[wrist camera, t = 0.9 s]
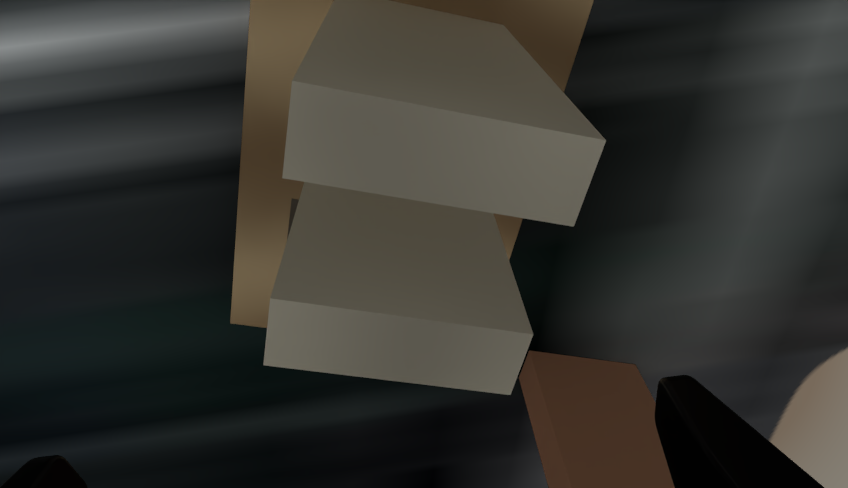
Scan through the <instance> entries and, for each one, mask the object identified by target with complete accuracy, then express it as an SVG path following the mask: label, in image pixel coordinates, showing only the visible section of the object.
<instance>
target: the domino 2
mask: <svg viewBox="0 0 848 488" xmlns="http://www.w3.org/2000/svg"><path fill="white" fill-rule="evenodd" d="M532 337H533V332H532V329H531V326H530V323H529V320H528V317H527V314H526V311H525V308H524V305H523V302H522V299H521V296H520V293H519V290H518V287H517V284H516V281H515V278H514V274H513V271H512V268H511V265H510V262H509V259H508V256H507V253H506V250H505V247H504V244H503V241H502V238H501V235H500V232H499V229H498V226H497V223H496V220H495V217H494V214H493V213H488V212H482V211H476V210H470V209H464V208H458V207H452V206H446V205H440V204H434V203H428V202H422V201H416V200H410V199H404V198H398V197H392V196H386V195H380V194H374V193H368V192H362V191H356V190H350V189H344V188H338V187H332V186H326V185H320V184H314V183H308V182H304V185H303V188H302V192H301V195H300V198H299V202H298V205H297V209H296V212H295V215H294V219H293V222H292V226H291V229H290V232H289V236H288V239H287V243H286V246H285V249H284V253H283V256H282V260H281V263H280V266H279V270H278V273H277V277H276V280H275V283H274V287H273V290H272V294H271V297H270V305H269V314H268V324H267V334H266V344H265V354H264V364H263V365H266V366H274V367H283V368H291V369H299V370H308V371H316V372H324V373H332V374H341V375H349V376H357V377H365V378H374V379H382V380H390V381H399V382H407V383H415V384H423V385H432V386H440V387H448V388H456V389H465V390H473V391H481V392H489V393H498V394H506V395H511V392H512V390H513V387H514V384H515V382H516V379H517V376H518V374H519V371H520V368H521V366H522V363H523V360H524V358H525V355H526V352H527V350H528V347H529V344H530V342H531V339H532Z"/></svg>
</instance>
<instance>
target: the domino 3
mask: <svg viewBox="0 0 848 488" xmlns="http://www.w3.org/2000/svg"><path fill="white" fill-rule="evenodd" d="M519 380H520V384H521V388H522V391H523V395H524V399H525V402H526V406H527V410H528V413H529V417H530V421H531V424H532V428H533V432H534V435H535V439H536V443H537V447H538V450H539V454H540V458H541V461H542V465H543V469H544V472H545V476H546V480H547V483H548V487H549V488H675V487H674V484H673V481H672V478H671V474H670V471H669V468H668V464H667V461H666V458H665V455H664V451H663V448H662V445H661V442H660V438H659V435H658V432H657V428H656V424H655V406H656V403H655V401H654V399H653V397H652V395H651V393H650V391H649V390H648V388H647V386H646V384H645V382H644V380H643V378H642V376H641V374H640V372H639V371H638V369H637V367H636V365H635V364H627V363H620V362H612V361H605V360H597V359H590V358H582V357H575V356H567V355H559V354H552V353H544V352H537V351H529V352H528V355H527V358H526V360H525V363H524V366H523V368H522V371H521V373H520V376H519Z"/></svg>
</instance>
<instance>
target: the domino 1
mask: <svg viewBox="0 0 848 488" xmlns="http://www.w3.org/2000/svg"><path fill="white" fill-rule="evenodd" d="M605 142H606V140H605V139H604V138H603V136H602V135H601V134H600V133H599V132H598V131H597V130H596V129H595V127H594V126H593V125H592V124H591V123H590V122H589V121H588V120H587V118H586V117H585V116H584V115H583V114H582V113H581V112H580V111H579V109H578V108H577V107H576V106H575V105H574V104H573V103H572V102H571V100H570V99H569V98H568V97H567V96H566V95H565V94H564V93H563V91H562V90H561V89H560V88H559V87H558V86H557V85H556V84H555V82H554V81H553V80H552V79H551V78H550V77H549V76H548V75H547V73H546V72H545V71H544V70H543V69H542V68H541V67H540V66H539V64H538V63H537V62H536V61H535V60H534V59H533V58H532V57H531V55H530V54H529V53H528V52H527V51H526V50H525V49H524V48H523V46H522V45H521V44H520V43H519V42H518V41H517V40H516V39H515V37H514V36H513V35H512V34H511V33H510V32H509V31H508V30H507V28H506V27H505V26H504V25H502V24H497V23H492V22H488V21H483V20H478V19H474V18H469V17H464V16H460V15H455V14H450V13H446V12H441V11H436V10H432V9H427V8H422V7H418V6H413V5H409V4H404V3H399V2H395V1H390V0H334V1H333V3H332V5H331V7H330V9H329V11H328V13H327V15H326V17H325V18H324V20H323V22H322V24H321V26H320V28H319V30H318V32H317V34H316V36H315V38H314V40H313V41H312V43H311V45H310V47H309V49H308V51H307V53H306V55H305V57H304V59H303V61H302V63H301V64H300V66H299V68H298V70H297V72H296V74H295V76H294V78H293V80H292V86H291V96H290V106H289V116H288V126H287V136H286V146H285V156H284V165H283V175H282V178H284V179H290V180H296V181H302V182H308V183H314V184H320V185H326V186H332V187H338V188H344V189H350V190H356V191H362V192H368V193H374V194H380V195H386V196H392V197H398V198H404V199H410V200H416V201H422V202H428V203H434V204H440V205H446V206H452V207H458V208H464V209H470V210H476V211H482V212H488V213H495V214H501V215H507V216H513V217H519V218H525V219H531V220H537V221H543V222H549V223H555V224H561V225H567V226H573V227H574V225H575V222H576V219H577V217H578V214H579V211H580V209H581V206H582V203H583V201H584V198H585V195H586V193H587V190H588V188H589V185H590V182H591V180H592V177H593V174H594V172H595V169H596V166H597V164H598V161H599V158H600V156H601V153H602V150H603V148H604V145H605Z"/></svg>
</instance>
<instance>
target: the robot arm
mask: <svg viewBox="0 0 848 488" xmlns="http://www.w3.org/2000/svg"><path fill="white" fill-rule="evenodd" d="M655 424H656V428H657V432H658V435H659V438H660V442H661V445H662V448H663V451H664V455H665V458H666V461H667V464H668V468H669V471H670V474H671V478H672V481H673V484H674V487H675V488H824V487H823V486H822V485H821V484H819V483H818V482H817V481H816V480H815V479H813V478H812V477H811V476H810V475H809V474H807V473H806V472H805V471H804V470H803V469H801V468H800V467H799V466H798V465H797V464H795V463H794V462H793V461H792V460H790V459H789V458H788V457H787V456H786V455H785V454H784V453H782V452H781V451H780V450H779V449H778V448H776V447H775V446H774V445H773V444H772V443H770V442H769V441H768V440H767V439H766V438H764V437H763V436H762V435H761V434H760V433H758V432H757V431H756V430H755V429H754V428H753V427H751V426H750V425H749V424H748V423H747V422H745V421H744V420H743V419H742V418H741V417H739V416H738V415H737V414H736V413H735V412H733V411H732V410H731V409H730V408H729V407H727V406H726V405H725V404H724V403H723V402H722V401H720V400H719V399H718V398H717V397H716V396H714V395H713V394H712V393H711V392H710V391H708V390H707V389H706V388H705V387H704V386H702V385H701V384H700V383H699V382H698V381H696V380H695V379H694V378H692V377H691V376H688V375H680V376H672V377H665V378H662V379H661V380H660V381H659V384H658V390H657V398H656V406H655ZM0 488H87V485H86V483H85V482H84V480H83V479H82V478H81V477H80V476H79V474H78V473H77V472H76V471H75V470H74V469H73V467H72V466H71V465H70V464H69V463H68V461H67V460H66V459H65V458H63V457H62V456H59V455H53V456H45V457H38V458H34V459H31V460H30V461H28V462H27V463H26V464H24V465H23V466H22V467H21V468H20V469H19V470H18V471H17V472H16V473H15V474H13V475H12V476H11V477H10V478H9V479H8V480H7V481H6V482H5V483H4V484H3V485H2V486H0Z"/></svg>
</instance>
